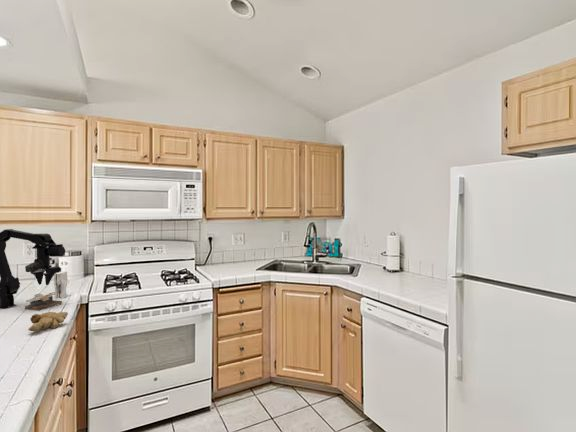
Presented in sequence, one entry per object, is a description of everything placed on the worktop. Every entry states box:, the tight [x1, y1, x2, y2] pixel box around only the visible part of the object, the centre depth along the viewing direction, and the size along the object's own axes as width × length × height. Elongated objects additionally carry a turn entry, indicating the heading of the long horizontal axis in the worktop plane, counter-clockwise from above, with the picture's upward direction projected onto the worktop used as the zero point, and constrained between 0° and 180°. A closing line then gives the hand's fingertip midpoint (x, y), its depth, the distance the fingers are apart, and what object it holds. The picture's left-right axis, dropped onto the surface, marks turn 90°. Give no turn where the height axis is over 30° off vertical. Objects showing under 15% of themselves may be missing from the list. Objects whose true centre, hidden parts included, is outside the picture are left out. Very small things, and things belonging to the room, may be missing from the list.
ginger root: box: [28, 311, 69, 332], centre depth 150 cm, size 16×16×8 cm
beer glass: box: [53, 271, 68, 299], centre depth 200 cm, size 7×7×15 cm
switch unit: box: [24, 295, 63, 311], centre depth 182 cm, size 10×13×4 cm
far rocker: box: [43, 291, 57, 297], centre depth 186 cm, size 7×3×1 cm, turn 75°
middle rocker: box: [33, 292, 50, 301], centre depth 182 cm, size 7×3×1 cm, turn 76°
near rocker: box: [25, 296, 41, 303], centre depth 178 cm, size 7×3×1 cm, turn 75°
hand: (43, 284), depth 181 cm, fingers open, 5 cm apart
